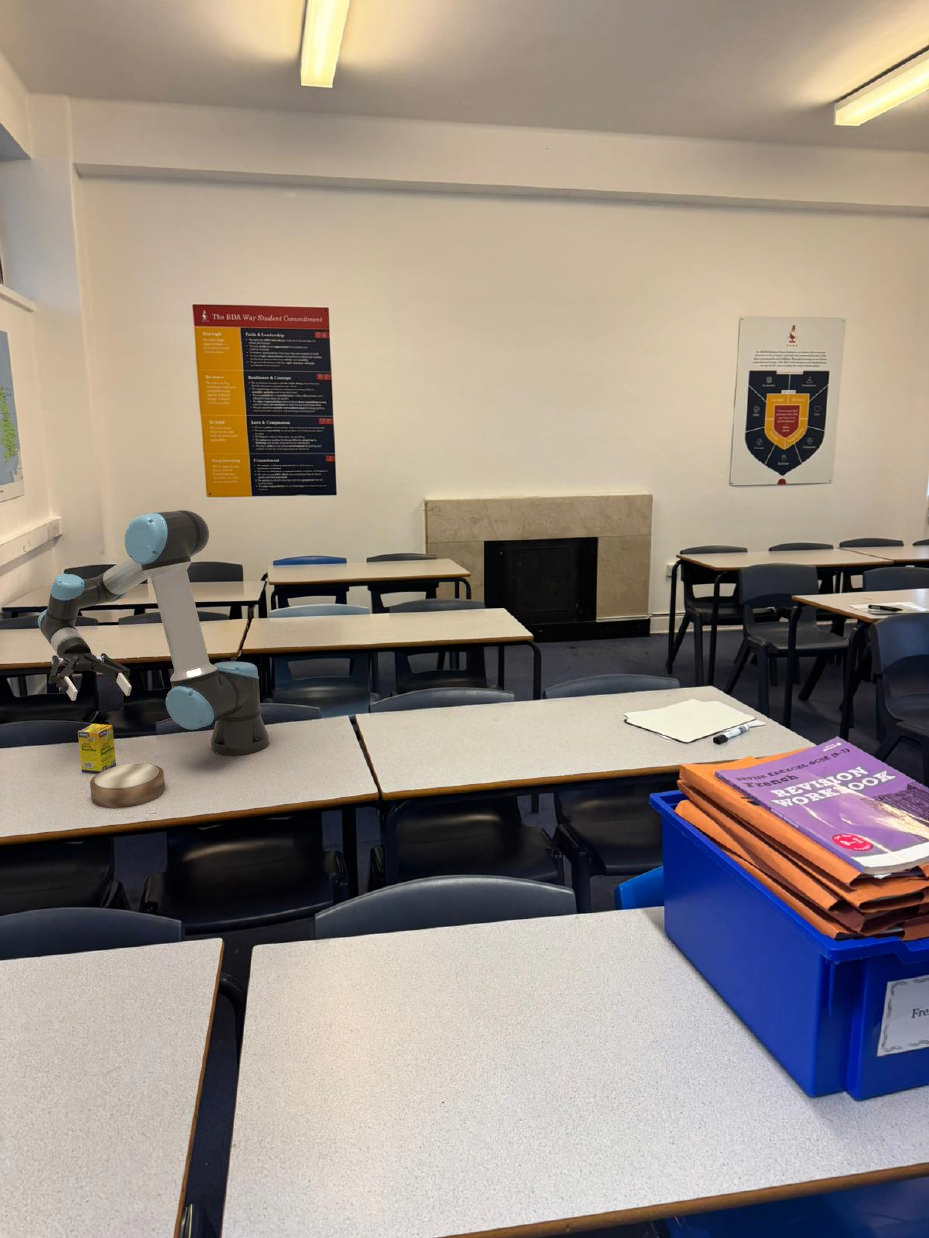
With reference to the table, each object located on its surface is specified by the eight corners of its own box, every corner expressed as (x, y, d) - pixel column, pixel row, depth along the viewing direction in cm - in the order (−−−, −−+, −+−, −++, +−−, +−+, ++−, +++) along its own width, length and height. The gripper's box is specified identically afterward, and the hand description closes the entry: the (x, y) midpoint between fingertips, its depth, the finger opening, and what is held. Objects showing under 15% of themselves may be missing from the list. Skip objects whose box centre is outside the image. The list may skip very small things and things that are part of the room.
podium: (169, 776, 200) (167, 759, 199) (159, 804, 185) (157, 785, 184) (100, 782, 197) (98, 764, 196) (84, 810, 181) (82, 792, 180)
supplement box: (102, 774, 201) (98, 732, 199) (81, 772, 203) (76, 731, 200) (117, 765, 207) (113, 724, 205) (96, 763, 208) (92, 723, 206)
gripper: (114, 657, 225) (146, 701, 213) (18, 662, 207) (47, 710, 195) (120, 634, 223) (153, 677, 211) (23, 637, 204) (53, 685, 192)
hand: (102, 693), depth 203 cm, fingers open, 13 cm apart
